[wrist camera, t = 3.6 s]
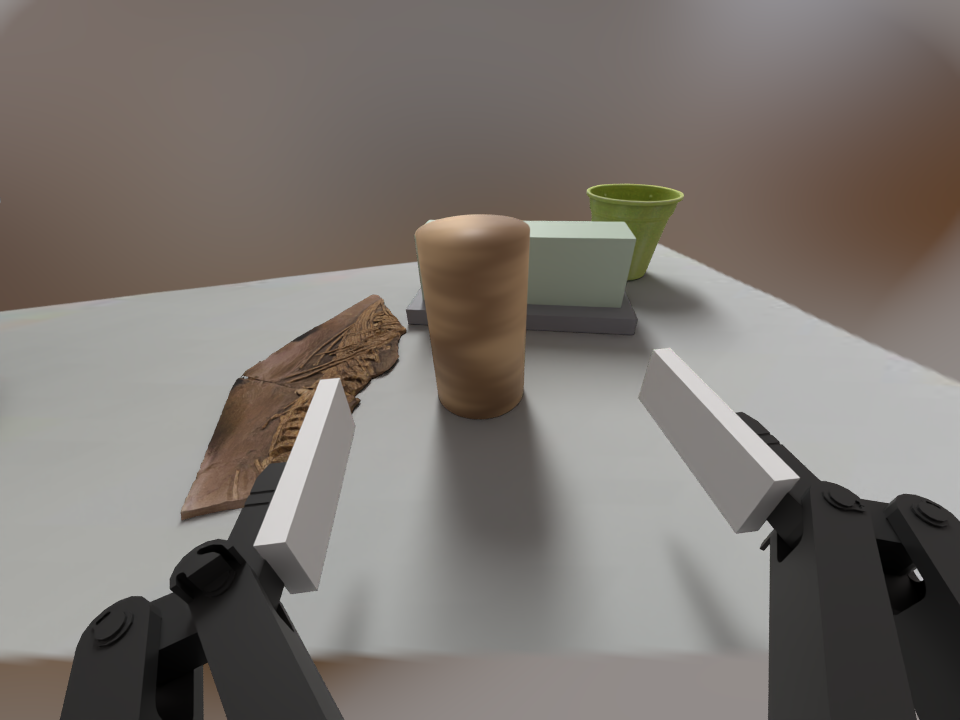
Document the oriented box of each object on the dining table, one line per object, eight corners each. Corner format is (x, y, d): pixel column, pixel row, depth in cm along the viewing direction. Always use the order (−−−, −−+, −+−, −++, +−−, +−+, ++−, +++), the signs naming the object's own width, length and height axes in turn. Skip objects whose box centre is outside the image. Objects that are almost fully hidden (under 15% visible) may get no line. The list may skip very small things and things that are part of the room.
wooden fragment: (293, 540, 17) (286, 528, 16) (102, 509, 19) (89, 497, 18) (436, 301, 38) (435, 292, 37) (339, 296, 39) (337, 287, 39)
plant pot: (620, 253, 47) (635, 180, 42) (679, 278, 40) (706, 194, 35) (560, 265, 44) (569, 188, 39) (613, 294, 37) (631, 205, 32)
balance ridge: (408, 323, 33) (394, 242, 29) (432, 284, 40) (424, 214, 36) (633, 334, 30) (656, 247, 26) (616, 290, 38) (631, 216, 33)
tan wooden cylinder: (429, 416, 23) (399, 248, 17) (447, 361, 28) (430, 214, 21) (521, 422, 22) (528, 249, 16) (524, 365, 27) (531, 214, 21)
